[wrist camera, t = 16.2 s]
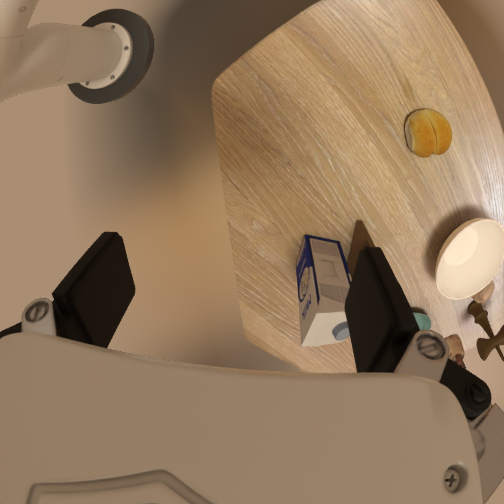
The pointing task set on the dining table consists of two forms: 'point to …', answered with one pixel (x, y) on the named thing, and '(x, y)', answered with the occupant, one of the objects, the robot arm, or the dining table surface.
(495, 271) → the bowl
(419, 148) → the bread roll
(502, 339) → the kendama
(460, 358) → the figurine
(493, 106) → the dining table surface
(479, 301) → the garlic bulb
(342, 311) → the milk carton
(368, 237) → the shelf
